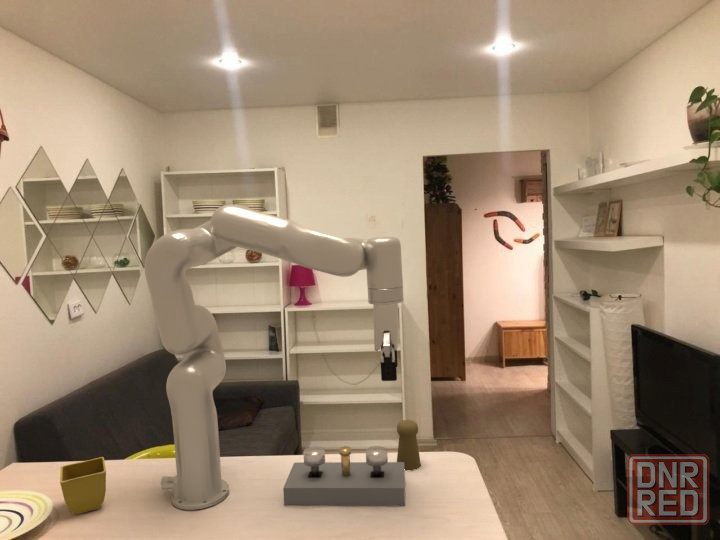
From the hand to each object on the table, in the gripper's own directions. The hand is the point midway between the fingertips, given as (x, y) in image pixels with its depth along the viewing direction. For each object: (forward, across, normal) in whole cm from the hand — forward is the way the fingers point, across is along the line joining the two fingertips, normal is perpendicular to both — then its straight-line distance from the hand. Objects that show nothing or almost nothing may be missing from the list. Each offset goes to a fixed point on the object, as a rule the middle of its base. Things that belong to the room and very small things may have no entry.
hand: (389, 373), depth 118 cm
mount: (+27, -1, -11) cm, 29 cm away
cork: (+28, -14, +3) cm, 31 cm away
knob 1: (+24, -1, -18) cm, 30 cm away
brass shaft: (+23, -1, -11) cm, 26 cm away
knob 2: (+24, -1, -4) cm, 24 cm away
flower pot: (+26, +6, -68) cm, 73 cm away
